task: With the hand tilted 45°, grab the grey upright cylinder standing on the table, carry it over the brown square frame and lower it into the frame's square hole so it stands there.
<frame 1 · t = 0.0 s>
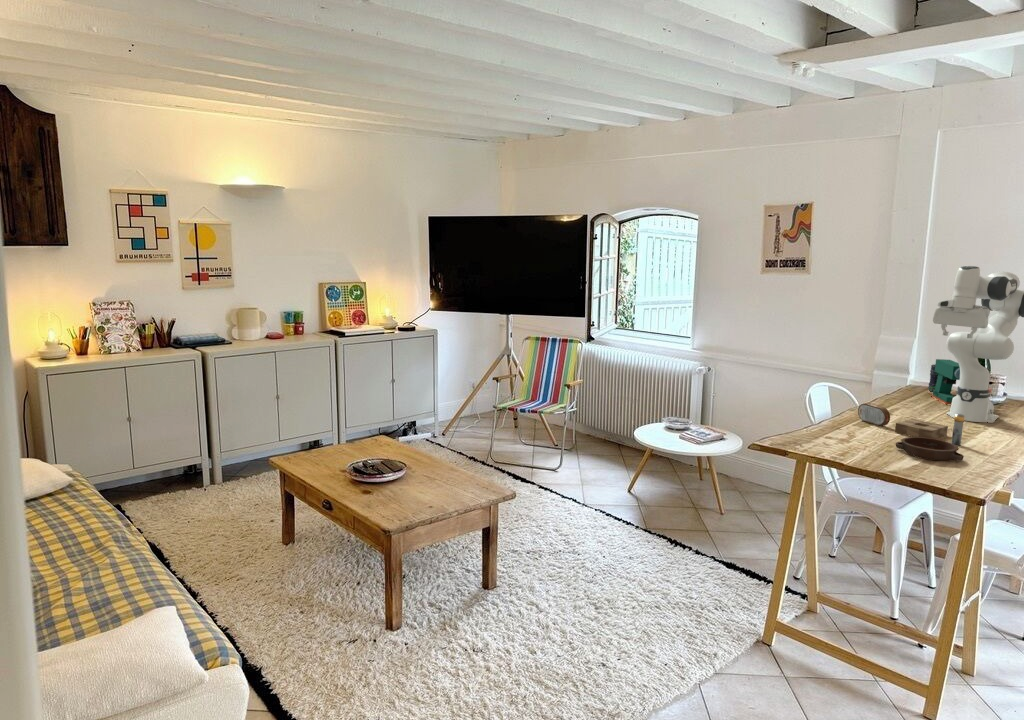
hand: (957, 336, 294), 39 cm above the table, tool pointing down, fingers open, 8 cm apart
brown square frame: (920, 434, 285), on the table
grey upright cylinder: (955, 444, 271), on the table
power tool: (951, 404, 342), on the table
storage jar: (938, 394, 366), on the table
tin: (872, 423, 301), on the table
dish: (928, 456, 256), on the table
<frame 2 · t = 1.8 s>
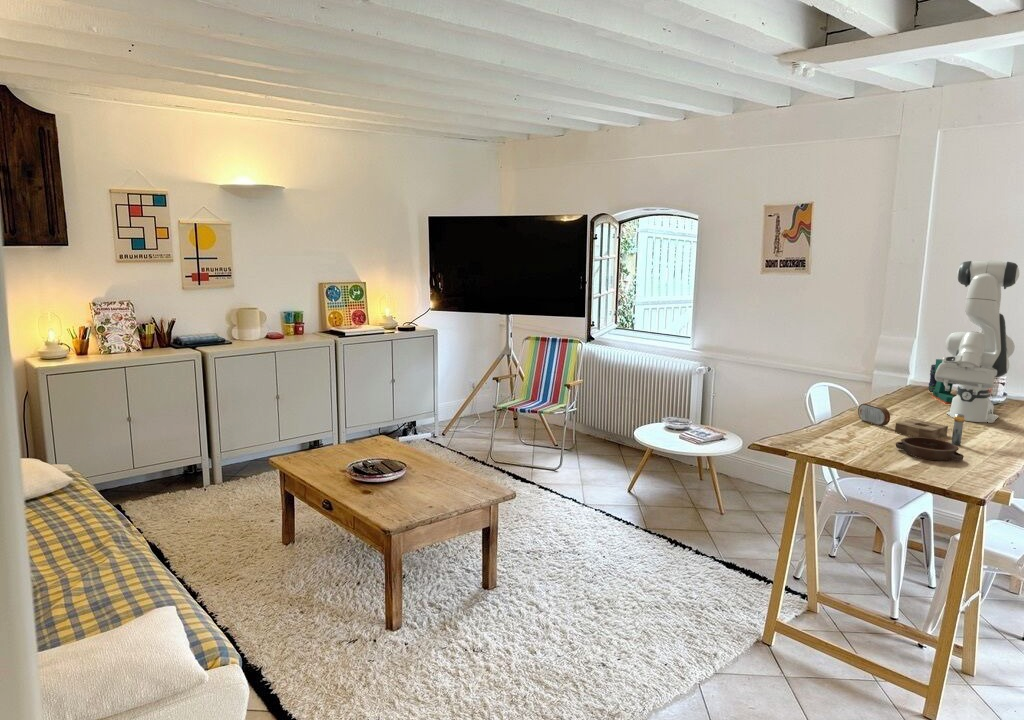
hand: (960, 392, 277), 19 cm above the table, tool tilted 45°, fingers open, 8 cm apart
nothing on the table moved.
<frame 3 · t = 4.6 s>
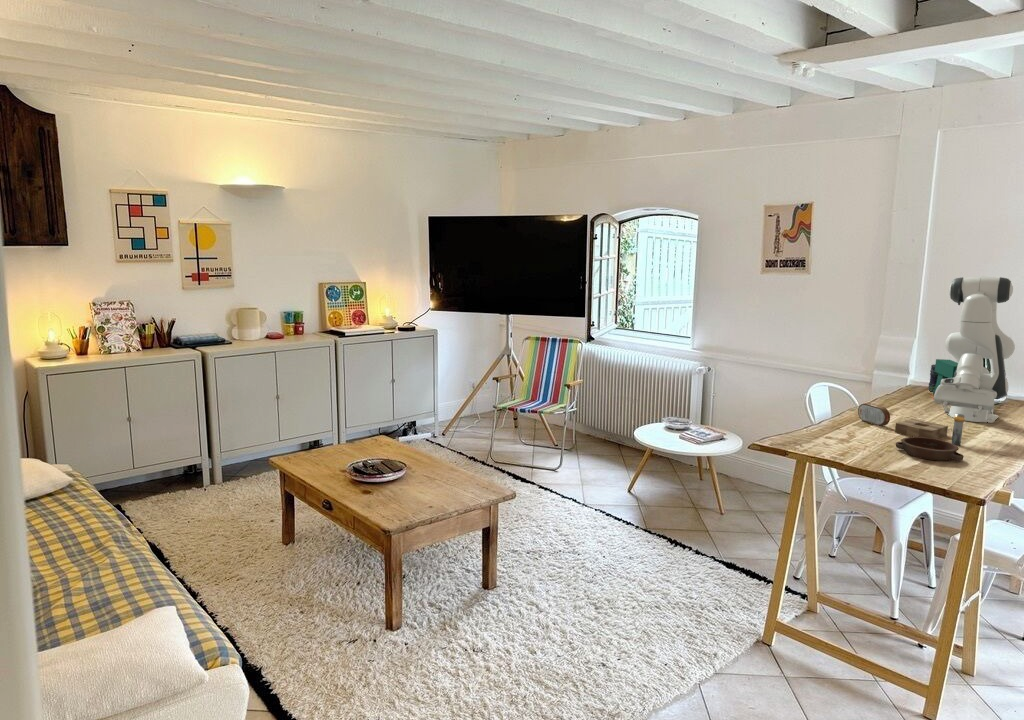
hand: (960, 414, 272), 11 cm above the table, tool tilted 45°, fingers open, 8 cm apart
nothing on the table moved.
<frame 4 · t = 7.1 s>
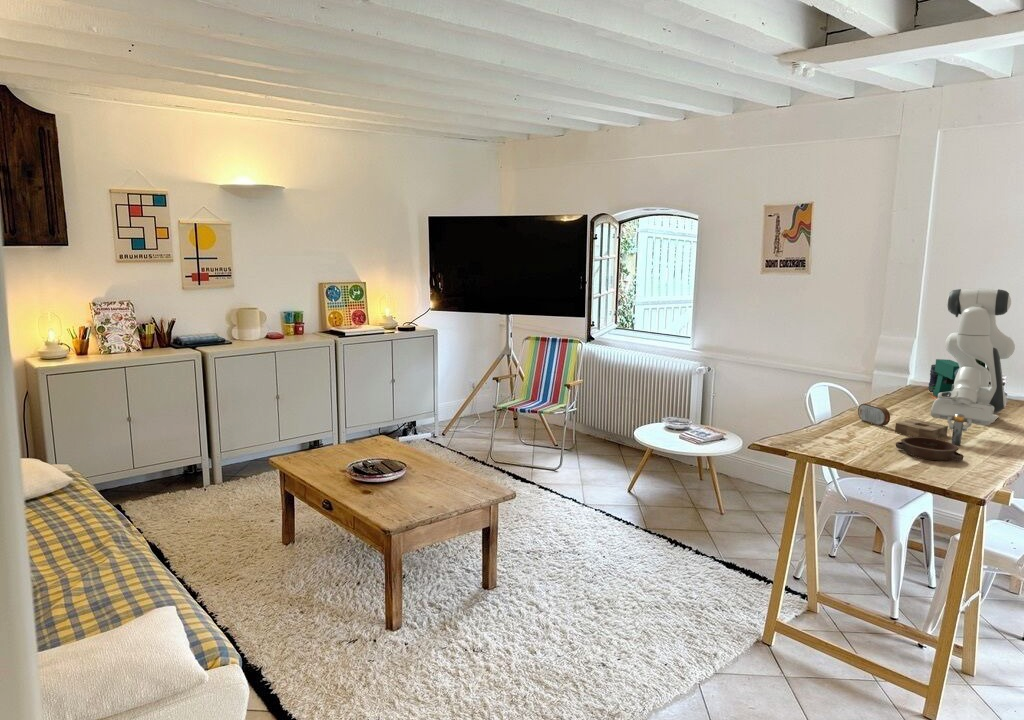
hand: (957, 429, 269), 6 cm above the table, tool tilted 45°, fingers closed on grey upright cylinder, 3 cm apart
grey upright cylinder: (955, 444, 271), on the table, touching gripper
everything else where it was.
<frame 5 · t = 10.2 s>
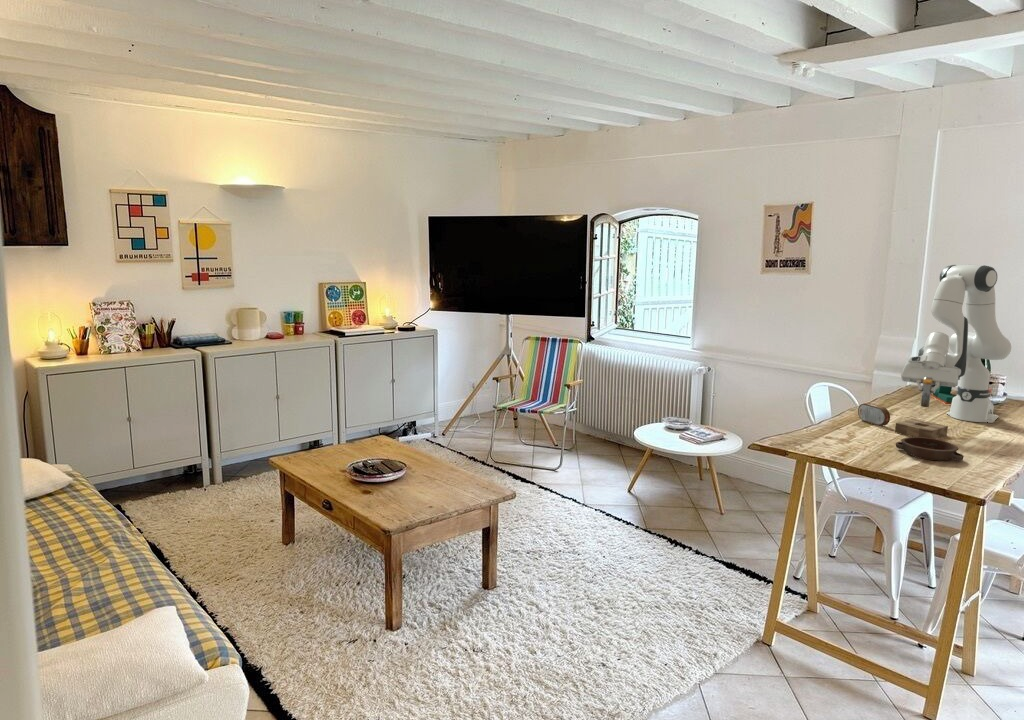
hand: (926, 391, 282), 18 cm above the table, tool tilted 45°, fingers closed on grey upright cylinder, 3 cm apart
grey upright cylinder: (924, 406, 283), point 12 cm above the table, touching gripper
everything else where it was.
when the fingers open (8 cm above the table, at t = 13.2 s): grey upright cylinder drops 2 cm, resting in brown square frame.
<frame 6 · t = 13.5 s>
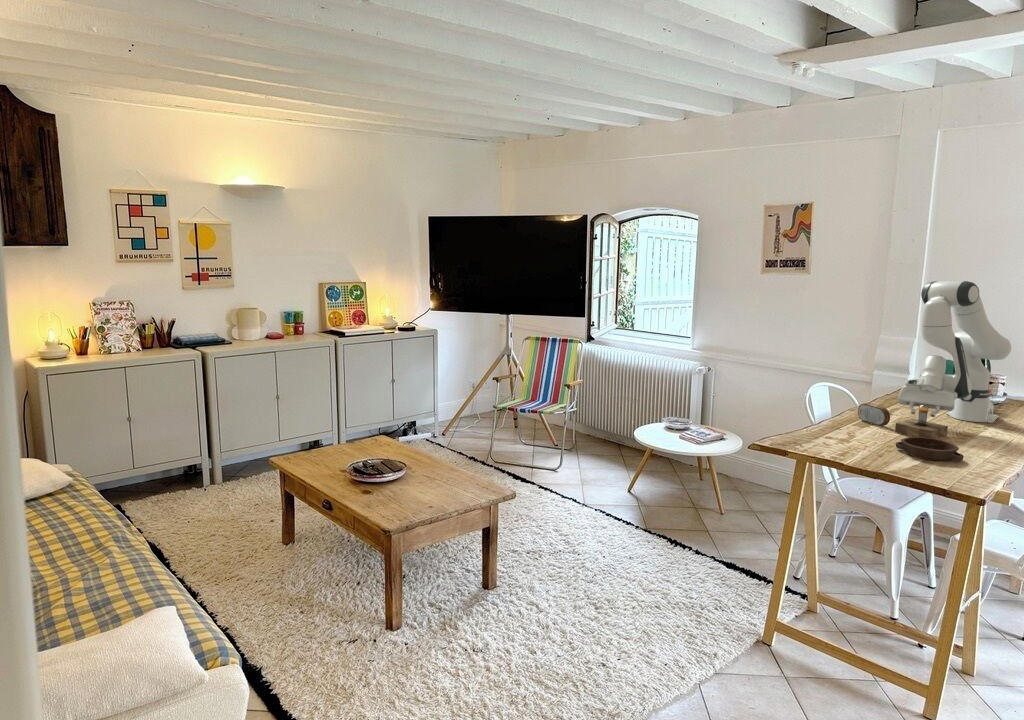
hand: (922, 414, 283), 8 cm above the table, tool tilted 45°, fingers open, 6 cm apart
grey upright cylinder: (920, 434, 285), resting in brown square frame
everything else where it was.
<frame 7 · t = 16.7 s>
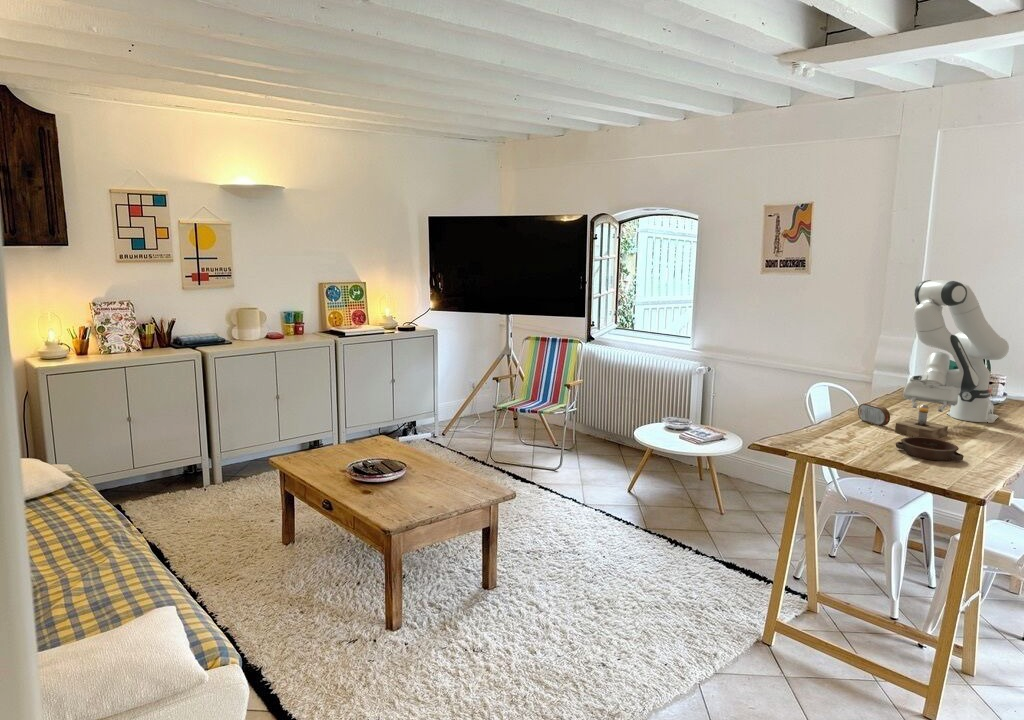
hand: (927, 409, 293), 8 cm above the table, tool tilted 45°, fingers open, 8 cm apart
nothing on the table moved.
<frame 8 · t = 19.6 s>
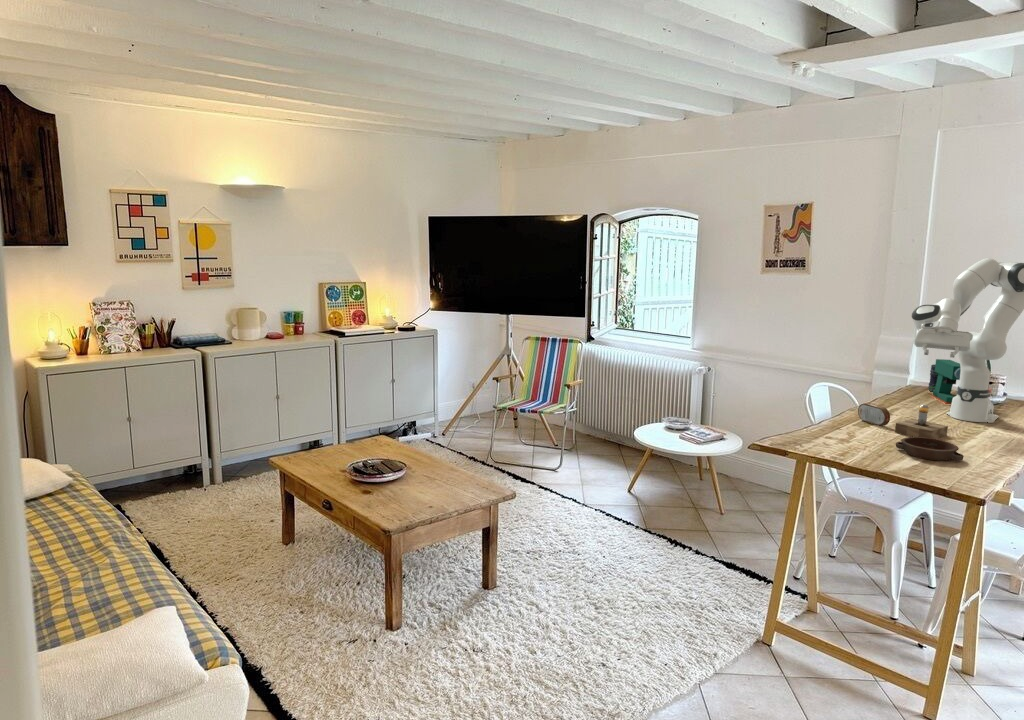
hand: (939, 355, 291), 31 cm above the table, tool tilted 45°, fingers open, 8 cm apart
nothing on the table moved.
at the end: grey upright cylinder 0.0 cm off-centre on the brown square frame, point 0.0 cm above the brown square frame's base; grey upright cylinder tilted 0°; the gripper is holding nothing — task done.
